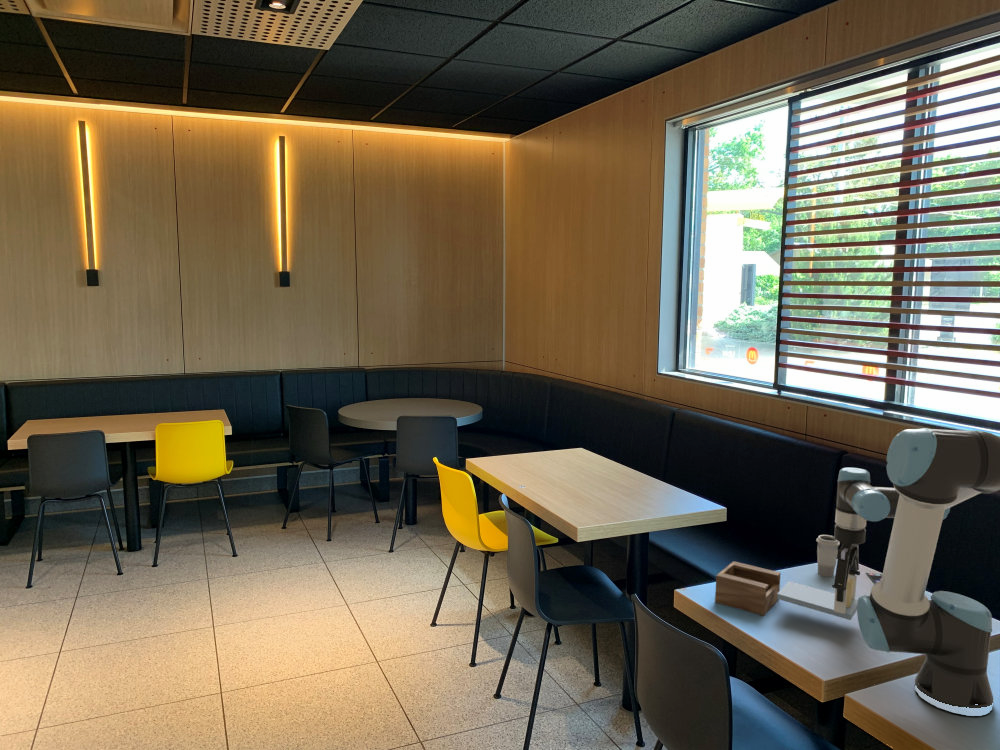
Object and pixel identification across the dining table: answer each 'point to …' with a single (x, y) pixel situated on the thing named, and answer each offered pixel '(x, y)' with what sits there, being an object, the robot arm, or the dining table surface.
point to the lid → (818, 598)
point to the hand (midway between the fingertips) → (844, 604)
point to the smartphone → (874, 577)
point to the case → (747, 588)
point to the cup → (827, 554)
